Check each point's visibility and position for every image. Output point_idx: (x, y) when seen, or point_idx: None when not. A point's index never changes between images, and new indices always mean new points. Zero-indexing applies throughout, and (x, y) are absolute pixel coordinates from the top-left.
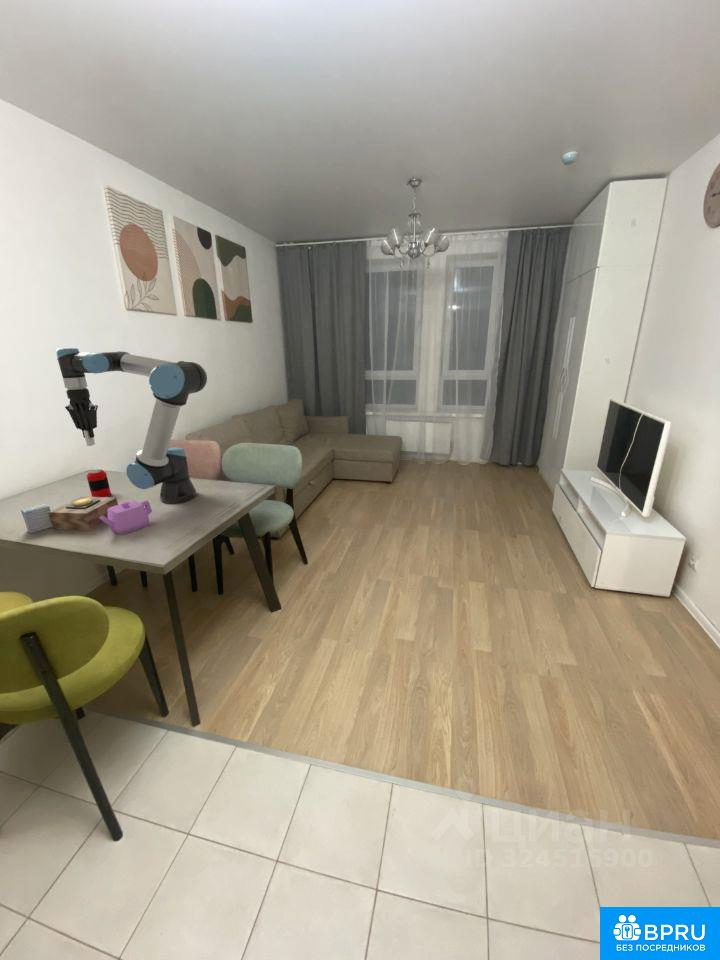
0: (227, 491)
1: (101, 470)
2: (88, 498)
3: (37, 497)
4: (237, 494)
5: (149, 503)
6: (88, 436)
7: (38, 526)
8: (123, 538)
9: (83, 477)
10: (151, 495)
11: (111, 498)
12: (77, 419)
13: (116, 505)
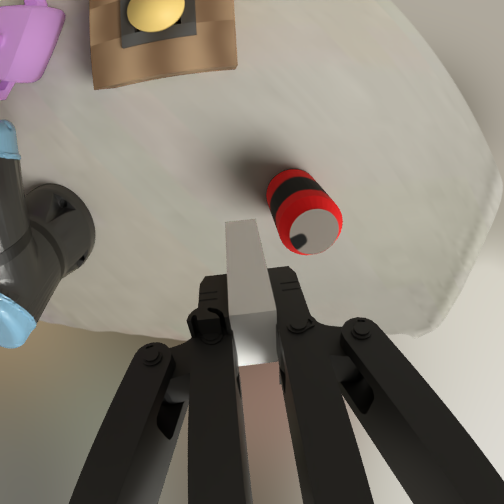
0: None
1: (299, 245)
2: (155, 30)
3: (452, 168)
4: None
5: None
6: (227, 274)
7: None
8: None
9: (423, 295)
10: (135, 223)
11: (103, 78)
12: (391, 436)
13: (23, 32)
